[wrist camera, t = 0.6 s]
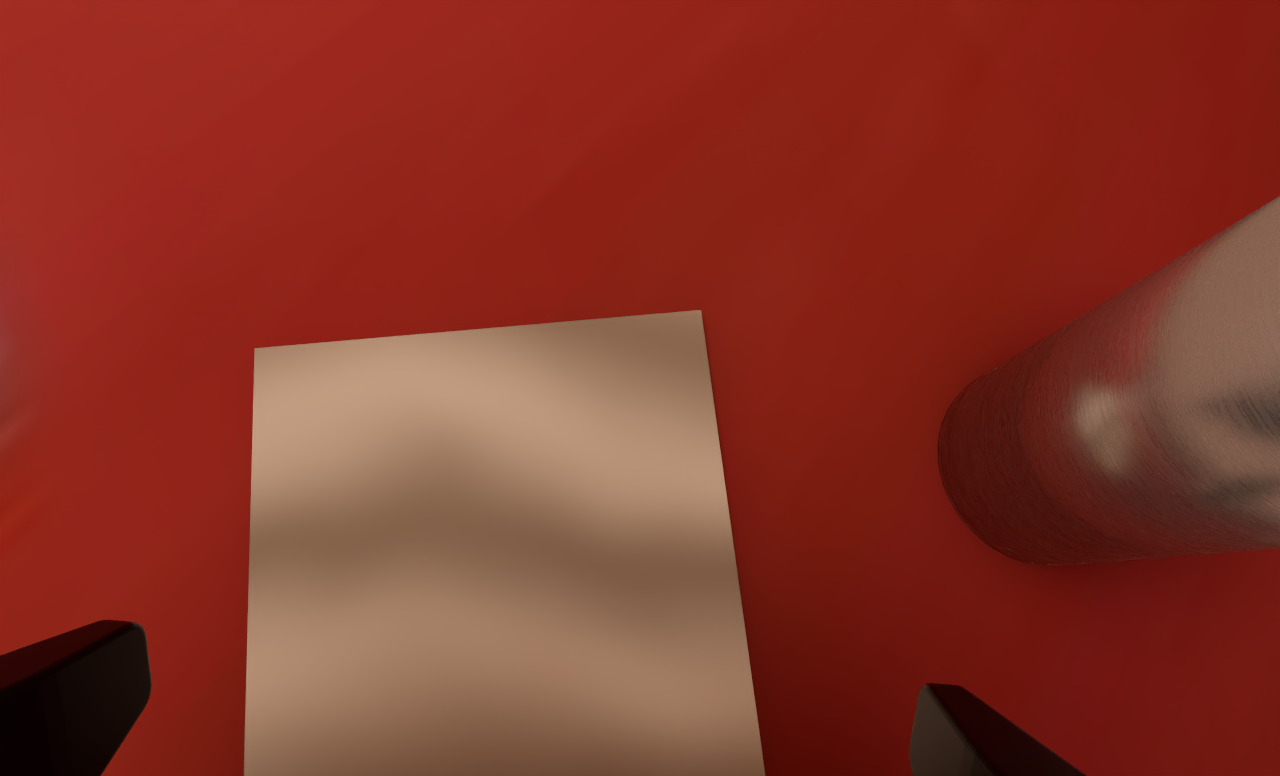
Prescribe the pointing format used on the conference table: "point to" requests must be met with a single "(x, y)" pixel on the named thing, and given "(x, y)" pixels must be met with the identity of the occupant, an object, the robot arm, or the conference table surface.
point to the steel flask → (1135, 419)
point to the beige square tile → (495, 558)
